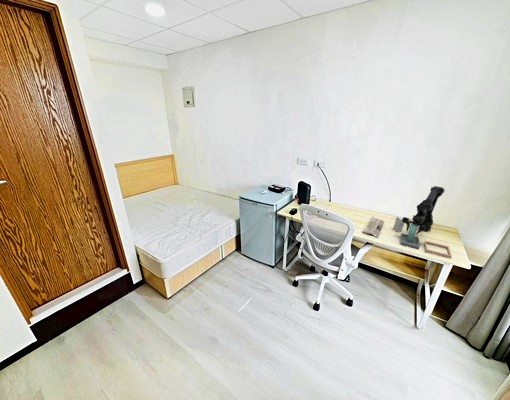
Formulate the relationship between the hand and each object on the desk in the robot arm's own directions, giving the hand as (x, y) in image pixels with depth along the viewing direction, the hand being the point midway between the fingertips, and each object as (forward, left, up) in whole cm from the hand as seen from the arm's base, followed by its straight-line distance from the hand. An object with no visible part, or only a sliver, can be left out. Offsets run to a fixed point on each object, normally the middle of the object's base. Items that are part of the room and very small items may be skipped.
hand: (411, 232), depth 168 cm
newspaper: (-29, -1, -10) cm, 31 cm away
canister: (0, +1, -8) cm, 8 cm away
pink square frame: (+16, +8, -9) cm, 20 cm away
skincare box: (-16, +13, -9) cm, 23 cm away
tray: (0, +1, -9) cm, 9 cm away
